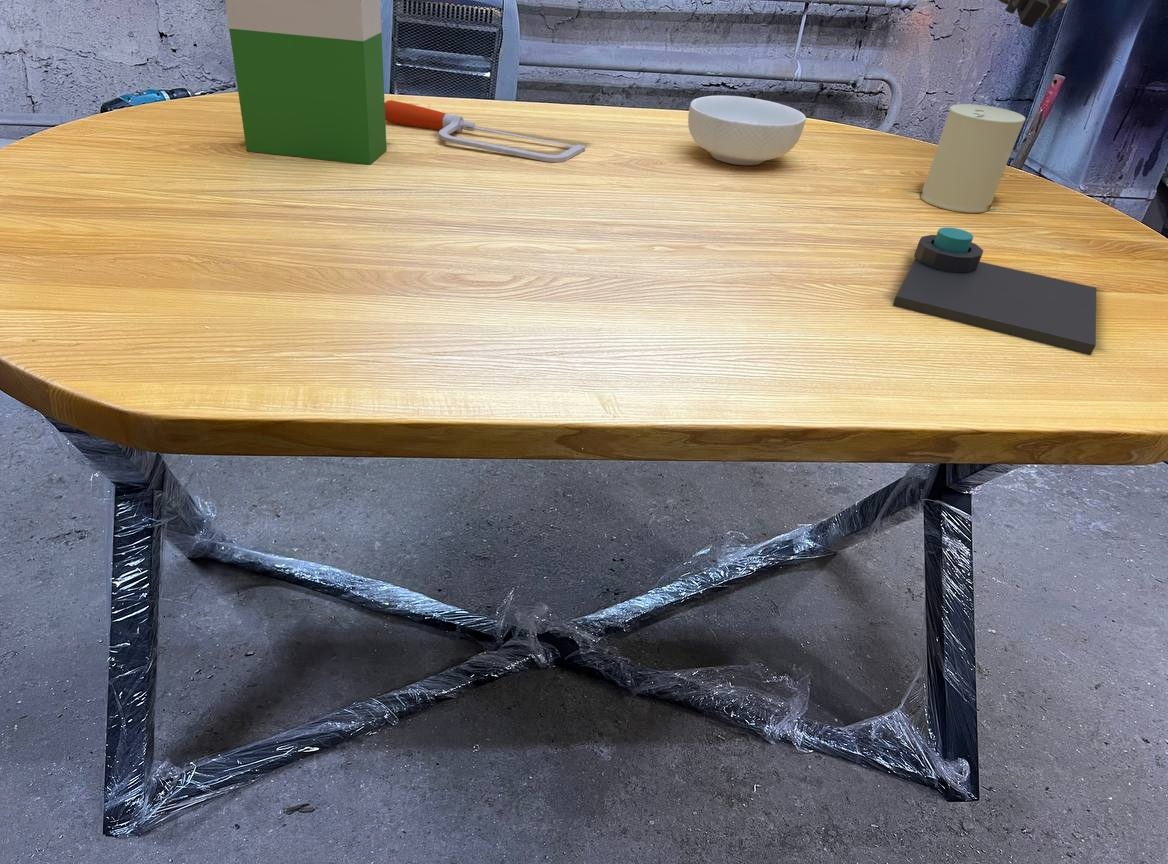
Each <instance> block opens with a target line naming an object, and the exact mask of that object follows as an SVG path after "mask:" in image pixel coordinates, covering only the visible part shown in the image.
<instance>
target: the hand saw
mask: <svg viewBox="0 0 1168 864" xmlns="http://www.w3.org/2000/svg"><path fill="white" fill-rule="evenodd" d="M385 122H389V123H393V124H399V125H404V126H410V127H411V126H412V127H418V128H423V129H424V128H425V129H432V130H433V129H434V130H439V131H438V138H439V139H440V140H442V141H443V142H447V143H449V144H456V145H460V146H466V147H470V148H476V149H479V150H480V149H481V150H484V151H485V150H486V151H492V152H495V153H501V154H504V155H505V154H506V155H511V156H516V157H521V158H526V159H532V160H535V161H536V160H537V161H541V162H546V163H547V162H548V163H561V162H562V163H563V162H566V161H568V160H570V159H572V158H573V157H576V156H577V155H578V154H581V153H583V152H584V151H586V145H583V144H576V145H573V144H568V143H563V142H559V141H558V142H557V141H553V140H547V139H542V138H537V137H532V136H526V135H521V134H516V133H510V132H504V131H501V130H495V129H490V128H484V127H479V126H476V124H475V122H473V121H469V120H464V117H463V115H458V114H449V113H445V112H443V111H442V112H441V111H439V110H435V109H432V108H429V107H428V108H427V107H424V106H420V105H417V104H412V103H406V102H402V101H397V100H392V99H389V100H385ZM475 129H476V130H481V131H488V132H493V133H497V134H503V135H506V136H507V135H508V136H513V137H519V138H524V139H529V140H534V141H539V142H545V143H549V144H554V145H555V144H556V145H560V146H565V147H570V148H569V149H567V150H565V151H563V152H561V153H559V154H546V153H540V152H535V151H529V150H524V149H520V148H515V147H509V146H505V145H498V144H493V143H489V142H483V141H478V140H473V139H469V138H462V137H457V136H453V135H450V134H452V133H458V134H461V133H462V132H463V131H467V132H468V131H469V132H474V131H475Z"/></svg>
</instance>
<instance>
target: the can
mask: <svg viewBox="0 0 1168 864" xmlns="http://www.w3.org/2000/svg"><path fill="white" fill-rule="evenodd" d="M1025 122H1026V117H1025V116H1024V115H1022V114H1021V113H1019V112H1016V111H1013V110H1010V109H1006V108H1002V107H997V106H990V105H985V104H984V105H983V104H975V103H974V104H973V103H960V104H959V103H958V104H953V105H950V107H949V109H948V114H947V117H946V120H945V123H944V126H943V129H942V132H941V135H940V139H939V141H938V144H937V147H936V150H935V153H934V156H933V158H932V162H931V165H930V167H929V171H928V173H927V176H926V179H925V182H924V184H923V187H922V189H921V190H922V191H920V192H919V198H920V199H921V200H922V201H923V202H925V203H927V204H929V205H931V206H934V207H937V208H940V209H943V210H947V211H951V212H957V213H965V214H981V213H986V212H989V211H990V210H991V208H992V205H991V204H993V201H994V198H995V195H996V192H997V190H998V187H999V185H1000V182H1001V179H1002V177H1003V175H1004V172H1005V170H1006V167H1007V165H1008V162H1009V160H1010V157H1011V155H1012V152H1013V149H1014V147H1015V144H1016V141H1018V140H1017V139H1018V137H1019V134H1020V132H1021V130H1022V128H1023V125H1024V123H1025Z"/></svg>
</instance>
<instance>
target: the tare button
mask: <svg viewBox="0 0 1168 864" xmlns="http://www.w3.org/2000/svg"><path fill="white" fill-rule="evenodd" d="M935 235H936V238H935V240H934V243H933V245H934V246H935V247H936V248H939V249H941V250H945V251H949V252H953V253H967V252H968V250H969V247H970V245H971V242H972V243H973V240H974V235H973V234H972V233H970V232H969V231H967V230H964V229H960V228H955V227H940V228H939V229H938V230H937V232H936V234H935Z"/></svg>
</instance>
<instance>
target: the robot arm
mask: <svg viewBox="0 0 1168 864" xmlns="http://www.w3.org/2000/svg"><path fill="white" fill-rule="evenodd" d="M998 2H1000V3H1001V4H1004V5H1007V6H1006V8H1005V9H1004V10H1005V12H1007V13H1009V14H1012V15H1014V14H1015V12H1016V11H1017V16H1018V18H1019V22H1020V25H1023V26H1024V27H1028V28H1030V29H1033V28H1034V26H1035V25H1036V24H1037V22H1038V20H1039V19H1041V18H1043V19H1046V20H1050V19H1051V18H1052V16H1053V15H1054V13H1055V12H1056V11H1057V10H1063V9H1064V7H1065V6H1066V4H1067V3H1068V2H1069V0H998Z"/></svg>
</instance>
